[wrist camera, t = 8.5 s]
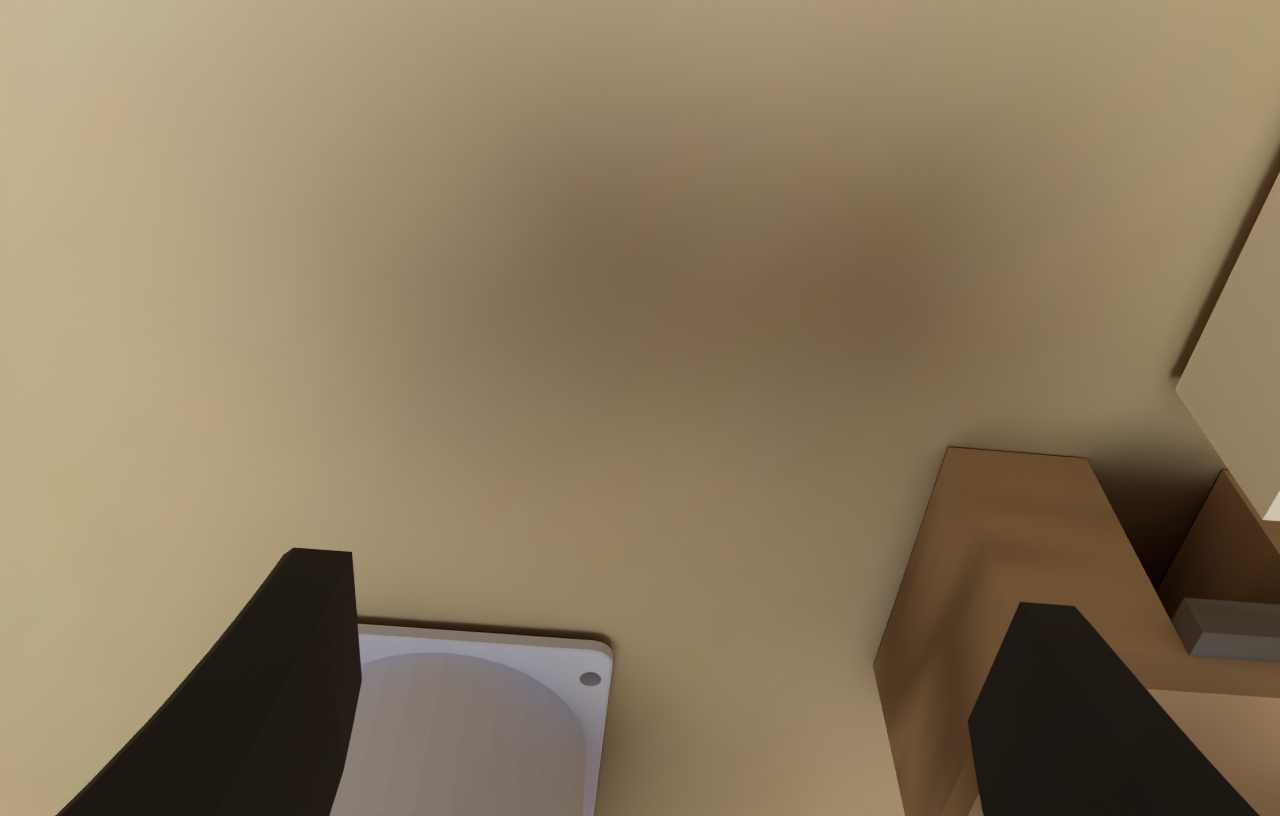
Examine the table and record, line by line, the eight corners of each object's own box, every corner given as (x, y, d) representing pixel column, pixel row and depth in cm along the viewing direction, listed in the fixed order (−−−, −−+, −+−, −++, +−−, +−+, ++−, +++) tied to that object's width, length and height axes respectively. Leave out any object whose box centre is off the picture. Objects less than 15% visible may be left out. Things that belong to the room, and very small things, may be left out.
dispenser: (1222, 691, 27) (1350, 930, 22) (873, 666, 27) (924, 906, 22) (1371, 459, 23) (1572, 695, 18) (955, 424, 23) (1043, 656, 18)
